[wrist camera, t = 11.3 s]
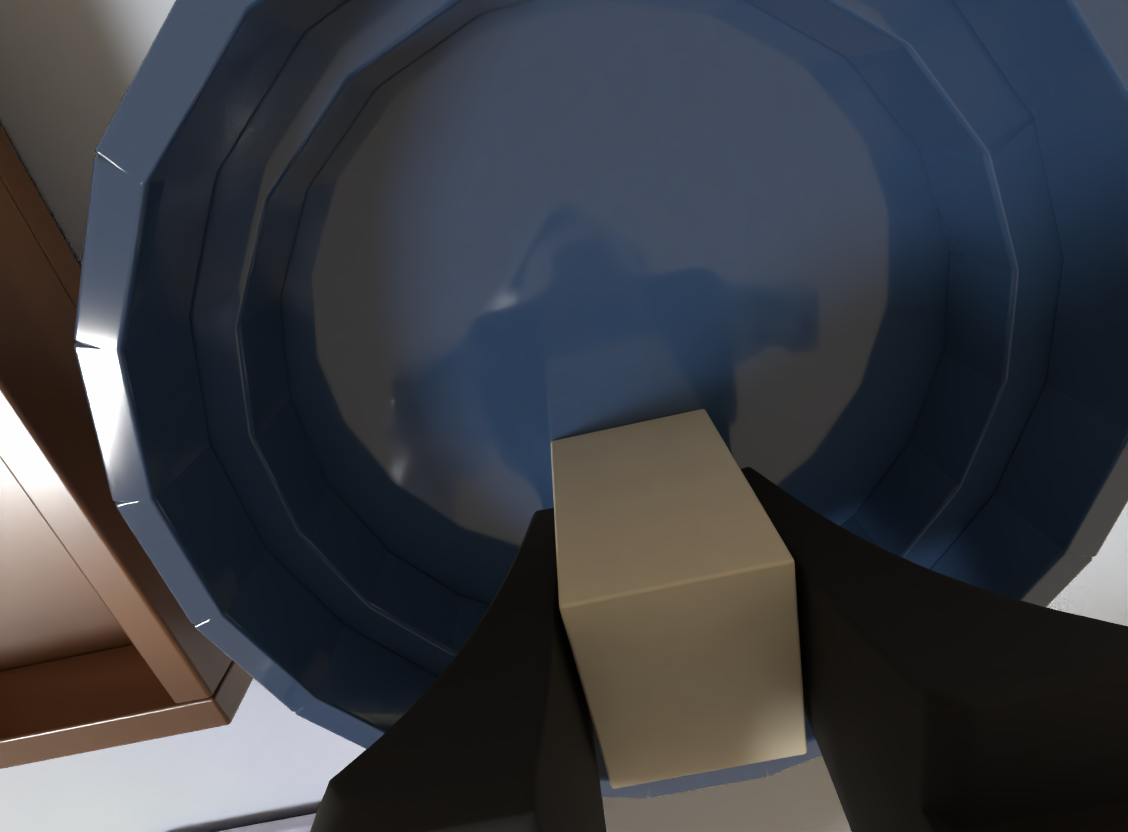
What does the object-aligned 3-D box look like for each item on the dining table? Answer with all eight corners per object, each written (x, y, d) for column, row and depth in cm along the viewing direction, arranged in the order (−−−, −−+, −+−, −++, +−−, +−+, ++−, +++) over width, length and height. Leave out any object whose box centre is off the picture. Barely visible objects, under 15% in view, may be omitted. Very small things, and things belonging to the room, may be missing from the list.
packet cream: (724, 561, 14) (808, 755, 10) (588, 588, 14) (612, 790, 10) (704, 407, 12) (796, 559, 8) (550, 440, 13) (558, 607, 8)
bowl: (969, 578, 15) (1101, 718, 12) (382, 692, 16) (339, 856, 13) (1042, -234, 9) (1395, -479, 5) (52, 25, 10) (-236, -32, 6)
